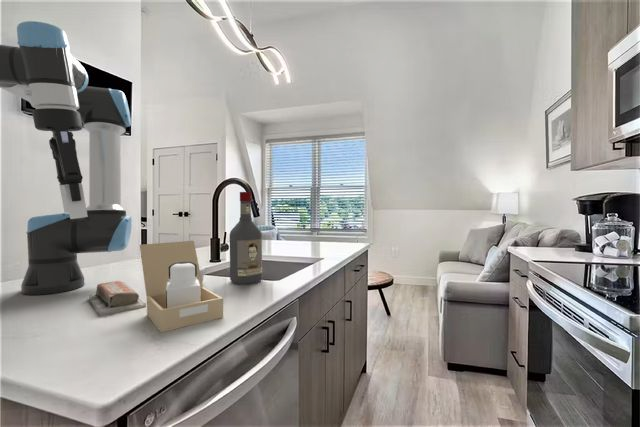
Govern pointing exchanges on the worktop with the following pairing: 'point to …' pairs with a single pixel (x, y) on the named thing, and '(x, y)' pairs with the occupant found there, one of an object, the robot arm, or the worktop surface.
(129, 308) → the packaged product
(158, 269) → the mailer
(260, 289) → the worktop surface
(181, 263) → the medicine bottle
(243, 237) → the liquor
